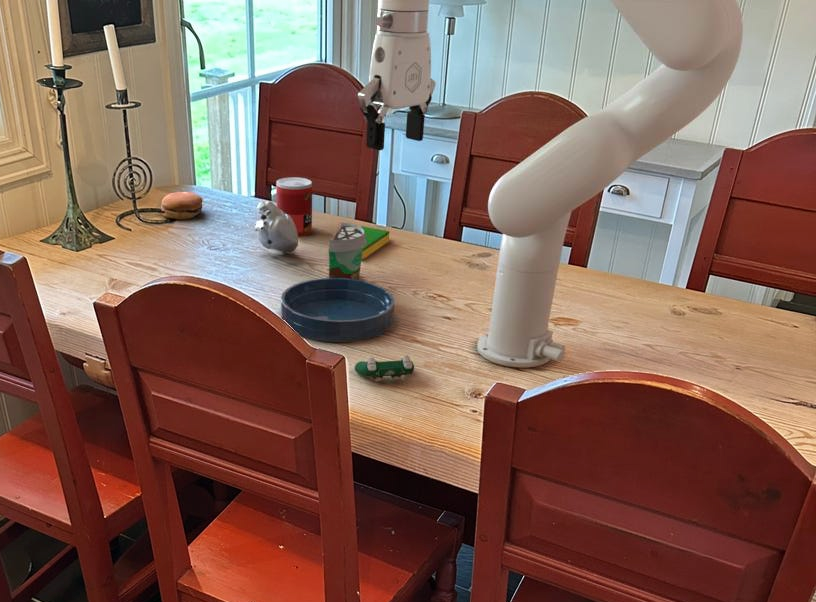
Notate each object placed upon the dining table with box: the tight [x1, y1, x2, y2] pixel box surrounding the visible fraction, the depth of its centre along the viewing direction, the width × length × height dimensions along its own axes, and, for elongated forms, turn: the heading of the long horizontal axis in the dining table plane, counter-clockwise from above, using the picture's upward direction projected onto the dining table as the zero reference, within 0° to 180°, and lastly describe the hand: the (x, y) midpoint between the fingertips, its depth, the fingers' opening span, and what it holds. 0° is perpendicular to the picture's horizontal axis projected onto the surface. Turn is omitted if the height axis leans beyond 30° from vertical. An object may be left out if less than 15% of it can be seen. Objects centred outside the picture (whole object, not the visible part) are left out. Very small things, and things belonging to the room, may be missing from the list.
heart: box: [254, 200, 299, 254], centre depth 176 cm, size 10×10×12 cm
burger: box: [160, 190, 204, 221], centre depth 200 cm, size 10×9×5 cm
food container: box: [328, 221, 367, 280], centre depth 165 cm, size 12×6×10 cm, turn 168°
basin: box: [280, 277, 396, 343], centre depth 151 cm, size 20×20×4 cm
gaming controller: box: [354, 355, 415, 382], centre depth 133 cm, size 9×4×6 cm
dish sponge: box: [360, 225, 390, 260], centre depth 184 cm, size 7×14×2 cm, turn 153°
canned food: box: [275, 176, 313, 237], centre depth 190 cm, size 8×8×11 cm
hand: (394, 143), depth 136 cm, fingers open, 9 cm apart
